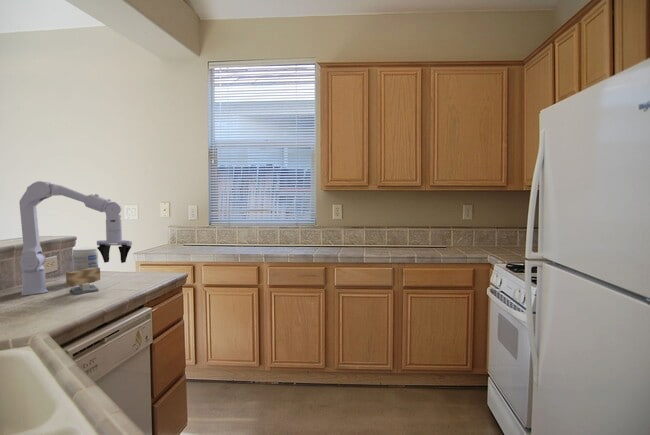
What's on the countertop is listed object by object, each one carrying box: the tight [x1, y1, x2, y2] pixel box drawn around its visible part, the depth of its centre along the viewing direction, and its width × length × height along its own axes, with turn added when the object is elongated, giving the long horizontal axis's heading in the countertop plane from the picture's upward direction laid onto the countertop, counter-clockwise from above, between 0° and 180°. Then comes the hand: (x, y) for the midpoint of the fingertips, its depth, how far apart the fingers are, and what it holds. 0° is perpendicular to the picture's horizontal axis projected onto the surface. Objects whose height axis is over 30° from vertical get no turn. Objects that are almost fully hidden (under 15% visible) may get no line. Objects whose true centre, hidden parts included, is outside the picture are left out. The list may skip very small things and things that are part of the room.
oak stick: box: [65, 267, 101, 287], centre depth 149 cm, size 12×3×5 cm, turn 162°
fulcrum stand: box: [70, 282, 99, 295], centre depth 150 cm, size 10×8×3 cm
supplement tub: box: [72, 246, 99, 272], centre depth 166 cm, size 10×10×15 cm
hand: (115, 262), depth 158 cm, fingers open, 7 cm apart
